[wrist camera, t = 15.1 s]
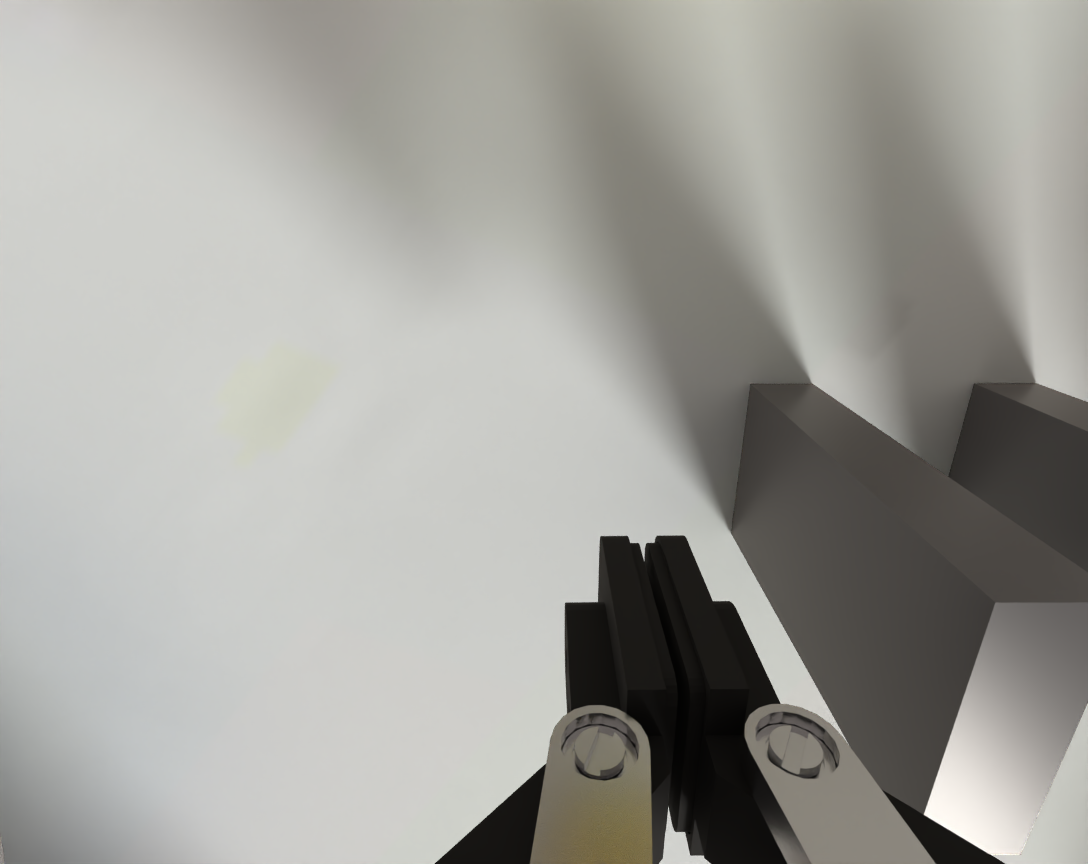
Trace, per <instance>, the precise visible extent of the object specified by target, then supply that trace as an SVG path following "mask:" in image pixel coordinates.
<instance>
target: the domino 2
mask: <svg viewBox="0 0 1088 864" xmlns="http://www.w3.org/2000/svg"><path fill="white" fill-rule="evenodd" d="M949 478H951V479H952V480H954V481H955V482H957V483H958V484H959V485H961V486H962V487H964V488H965V489H967V490H968V491H970V492H971V493H973V494H974V495H976V496H977V497H978V498H980V499H981V500H983V501H984V502H986V503H987V504H989V505H990V506H992V507H993V508H995V509H996V510H997V511H999V512H1000V513H1002V514H1003V515H1005V516H1006V517H1008V518H1009V519H1011V520H1012V521H1014V522H1015V523H1016V524H1018V525H1019V526H1021V527H1022V528H1024V529H1025V530H1027V531H1028V532H1030V533H1031V534H1032V535H1034V536H1035V537H1037V538H1038V539H1040V540H1041V541H1043V542H1044V543H1046V544H1047V545H1049V546H1050V547H1051V548H1053V549H1054V550H1056V551H1057V552H1059V553H1060V554H1062V555H1063V556H1065V557H1066V558H1068V559H1069V560H1070V561H1072V562H1073V563H1075V564H1076V565H1078V566H1079V567H1081V568H1082V569H1084V570H1085V571H1087V572H1088V402H1085V401H1083V400H1080V399H1077V398H1075V397H1072V396H1069V395H1067V394H1064V393H1061V392H1058V391H1056V390H1053V389H1050V388H1048V387H1045V386H1042V385H1039V384H1037V383H996V384H974V387H973V391H972V394H971V398H970V402H969V405H968V409H967V412H966V416H965V420H964V423H963V427H962V431H961V434H960V438H959V441H958V445H957V449H956V452H955V456H954V459H953V463H952V467H951V470H950V474H949Z"/></svg>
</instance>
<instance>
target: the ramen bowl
mask: <svg viewBox="0 0 1088 864" xmlns="http://www.w3.org/2000/svg"><path fill="white" fill-rule="evenodd" d="M0 864H4V853H3V847H2V842H1V836H0Z"/></svg>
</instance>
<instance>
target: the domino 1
mask: <svg viewBox="0 0 1088 864" xmlns="http://www.w3.org/2000/svg"><path fill="white" fill-rule="evenodd" d="M731 534H732V536H733V538H734V539H735V541H736V543H737V545H738V546H739V548H740V550H741V552H742V554H743V555H744V557H745V559H746V561H747V563H748V564H749V566H750V568H751V570H752V572H753V573H754V575H755V577H756V579H757V581H758V582H759V584H760V586H761V588H762V590H763V591H764V593H765V595H766V597H767V598H768V600H769V602H770V604H771V606H772V607H773V609H774V611H775V613H776V615H777V616H778V618H779V620H780V622H781V624H782V625H783V627H784V629H785V631H786V633H787V634H788V636H789V638H790V640H791V642H792V643H793V645H794V647H795V649H796V650H797V652H798V654H799V656H800V658H801V659H802V661H803V663H804V665H805V667H806V668H807V670H808V672H809V674H810V676H811V677H812V679H813V681H814V683H815V685H816V686H817V688H818V690H819V692H820V694H821V695H822V697H823V699H824V701H825V702H826V704H827V706H828V708H829V710H830V711H831V713H832V715H833V717H834V719H835V720H836V722H837V724H838V726H839V728H840V729H841V731H842V733H843V735H844V737H845V738H846V740H847V742H848V744H849V746H850V747H851V749H852V750H853V752H854V753H855V754H856V756H857V757H858V758H859V760H860V761H861V762H862V764H863V765H864V767H865V768H866V769H867V771H868V772H869V773H870V775H871V776H872V777H873V779H874V780H875V782H876V783H877V784H878V786H879V787H880V788H881V789H882V790H884V791H885V792H887V793H889V794H890V795H892V796H894V797H895V798H897V799H899V800H900V801H902V802H904V803H905V804H907V805H909V806H910V807H912V808H914V809H915V810H917V811H919V812H920V813H922V814H923V815H925V816H927V817H928V818H930V819H932V820H933V821H935V822H937V823H938V824H940V825H942V826H943V827H945V828H947V829H948V830H950V831H952V832H953V833H955V834H957V835H958V836H960V837H962V838H963V839H965V840H967V841H968V842H970V843H972V844H973V845H975V846H977V847H978V848H980V849H982V850H983V851H985V852H987V853H988V854H990V855H1021V853H1022V851H1023V848H1024V846H1025V844H1026V842H1027V839H1028V837H1029V835H1030V833H1031V830H1032V828H1033V826H1034V824H1035V821H1036V819H1037V817H1038V814H1039V812H1040V810H1041V808H1042V805H1043V803H1044V801H1045V799H1046V796H1047V794H1048V792H1049V789H1050V787H1051V785H1052V783H1053V780H1054V778H1055V776H1056V774H1057V771H1058V769H1059V767H1060V765H1061V762H1062V760H1063V758H1064V755H1065V753H1066V751H1067V749H1068V746H1069V744H1070V742H1071V740H1072V737H1073V735H1074V733H1075V730H1076V728H1077V726H1078V724H1079V721H1080V719H1081V717H1082V715H1083V712H1084V710H1085V708H1086V706H1087V703H1088V572H1087V571H1085V570H1084V569H1082V568H1081V567H1079V566H1078V565H1076V564H1075V563H1073V562H1072V561H1070V560H1069V559H1068V558H1066V557H1065V556H1063V555H1062V554H1060V553H1059V552H1057V551H1056V550H1054V549H1053V548H1051V547H1050V546H1049V545H1047V544H1046V543H1044V542H1043V541H1041V540H1040V539H1038V538H1037V537H1035V536H1034V535H1032V534H1031V533H1030V532H1028V531H1027V530H1025V529H1024V528H1022V527H1021V526H1019V525H1018V524H1016V523H1015V522H1014V521H1012V520H1011V519H1009V518H1008V517H1006V516H1005V515H1003V514H1002V513H1000V512H999V511H997V510H996V509H995V508H993V507H992V506H990V505H989V504H987V503H986V502H984V501H983V500H981V499H980V498H978V497H977V496H976V495H974V494H973V493H971V492H970V491H968V490H967V489H965V488H964V487H962V486H961V485H959V484H958V483H957V482H955V481H954V480H952V479H951V478H949V477H948V476H946V475H945V474H943V473H942V472H940V471H939V470H938V469H936V468H935V467H933V466H932V465H930V464H929V463H927V462H926V461H924V460H923V459H922V458H920V457H919V456H917V455H916V454H914V453H913V452H911V451H910V450H908V449H907V448H905V447H904V446H903V445H901V444H900V443H898V442H897V441H895V440H894V439H892V438H891V437H889V436H888V435H886V434H885V433H884V432H882V431H881V430H879V429H878V428H876V427H875V426H873V425H872V424H870V423H869V422H867V421H866V420H865V419H863V418H862V417H860V416H859V415H857V414H856V413H854V412H853V411H851V410H850V409H849V408H847V407H846V406H844V405H843V404H841V403H840V402H838V401H837V400H835V399H834V398H832V397H831V396H830V395H828V394H827V393H825V392H824V391H822V390H821V389H819V388H818V387H816V386H815V385H813V384H751V385H750V392H749V400H748V408H747V415H746V423H745V431H744V438H743V446H742V453H741V461H740V469H739V476H738V484H737V492H736V499H735V507H734V514H733V522H732V530H731Z"/></svg>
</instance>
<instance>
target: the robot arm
mask: <svg viewBox="0 0 1088 864" xmlns="http://www.w3.org/2000/svg"><path fill="white" fill-rule="evenodd" d="M565 675H566V699H567V714H566V715H565V716H563V717H562V719H561V720H560V721H559V722H558V723H557V724H556V726H555V728H554V730H553V733H552V736H551V739H550V745H549V751H548V757H547V763H546V764H545V765H544V766H543V767H542V768H541V769H539V770H538V771H537V772H536V773H535V774H534V775H533V776H532V777H531V778H529V779H528V780H527V781H526V782H525V783H524V784H523V785H522V786H521V787H519V788H518V789H517V790H516V791H515V792H514V793H513V794H512V795H511V796H509V797H508V798H507V799H506V800H505V801H504V802H503V803H502V804H501V805H499V806H498V807H497V808H496V809H495V810H494V811H493V812H492V813H491V814H489V815H488V816H487V817H486V818H485V819H484V820H483V821H482V822H481V823H479V824H478V825H477V826H476V827H475V828H474V829H473V830H472V831H471V832H469V833H468V834H467V835H466V836H465V837H464V838H463V839H462V840H461V841H459V842H458V843H457V844H456V845H455V846H454V847H453V848H452V849H451V850H449V851H448V852H447V853H446V854H445V855H444V856H443V857H442V858H440V859H439V860H438V861H437V862H436V863H435V864H659V862H660V861H661V860H662V859H663V849H664V838H665V831H666V823H667V813H668V806H669V811H670V816H671V821H672V825H673V828H674V831H675V832H685V833H686V838H687V842H688V847H689V851H690V856H692V855H704V858H705V859H706V860H707V861H709V862H710V863H711V864H1005V863H1003V862H1002V861H1000V860H998V859H997V858H995V857H993V856H992V855H990V854H988V853H987V852H985V851H983V850H982V849H980V848H978V847H977V846H975V845H973V844H972V843H970V842H968V841H967V840H965V839H963V838H962V837H960V836H958V835H957V834H955V833H953V832H952V831H950V830H948V829H947V828H945V827H943V826H942V825H940V824H938V823H937V822H935V821H933V820H932V819H930V818H928V817H927V816H925V815H923V814H922V813H920V812H919V811H917V810H915V809H914V808H912V807H910V806H909V805H907V804H905V803H904V802H902V801H900V800H899V799H897V798H895V797H894V796H892V795H890V794H889V793H887V792H885V791H884V790H882V789H881V788H880V787H879V786H878V784H877V783H876V782H875V780H874V779H873V777H872V776H871V775H870V773H869V772H868V771H867V769H866V768H865V767H864V765H863V764H862V762H861V761H860V760H859V758H858V757H857V756H856V754H855V753H854V752H853V750H852V749H851V747H850V746H849V745H848V743H847V742H846V741H845V739H844V738H843V737H842V736H841V734H840V733H839V732H838V731H837V730H836V729H835V728H834V727H833V726H832V725H831V724H830V723H828V722H827V721H826V720H824V719H823V718H821V717H820V716H818V715H817V714H815V713H813V712H810V711H808V710H806V709H804V708H801V707H797V706H793V705H788V704H780V702H779V699H778V697H777V695H776V693H775V691H774V689H773V687H772V685H771V682H770V680H769V678H768V676H767V674H766V672H765V670H764V667H763V665H762V663H761V661H760V659H759V657H758V655H757V653H756V650H755V648H754V646H753V644H752V642H751V640H750V638H749V635H748V633H747V631H746V629H745V627H744V625H743V623H742V621H741V618H740V616H739V614H738V612H737V610H736V608H735V606H734V605H733V603H731V602H730V601H712V598H711V596H710V594H709V591H708V589H707V586H706V584H705V582H704V579H703V577H702V575H701V572H700V570H699V567H698V565H697V563H696V560H695V558H694V556H693V553H692V551H691V548H690V546H689V544H688V541H687V539H686V537H685V536H656V539H655V543H647V544H646V547H645V561H644V560H643V556H642V552H641V549H640V545H639V543H630V541H629V538H628V536H601V537H600V552H599V588H598V602H584V603H565Z"/></svg>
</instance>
